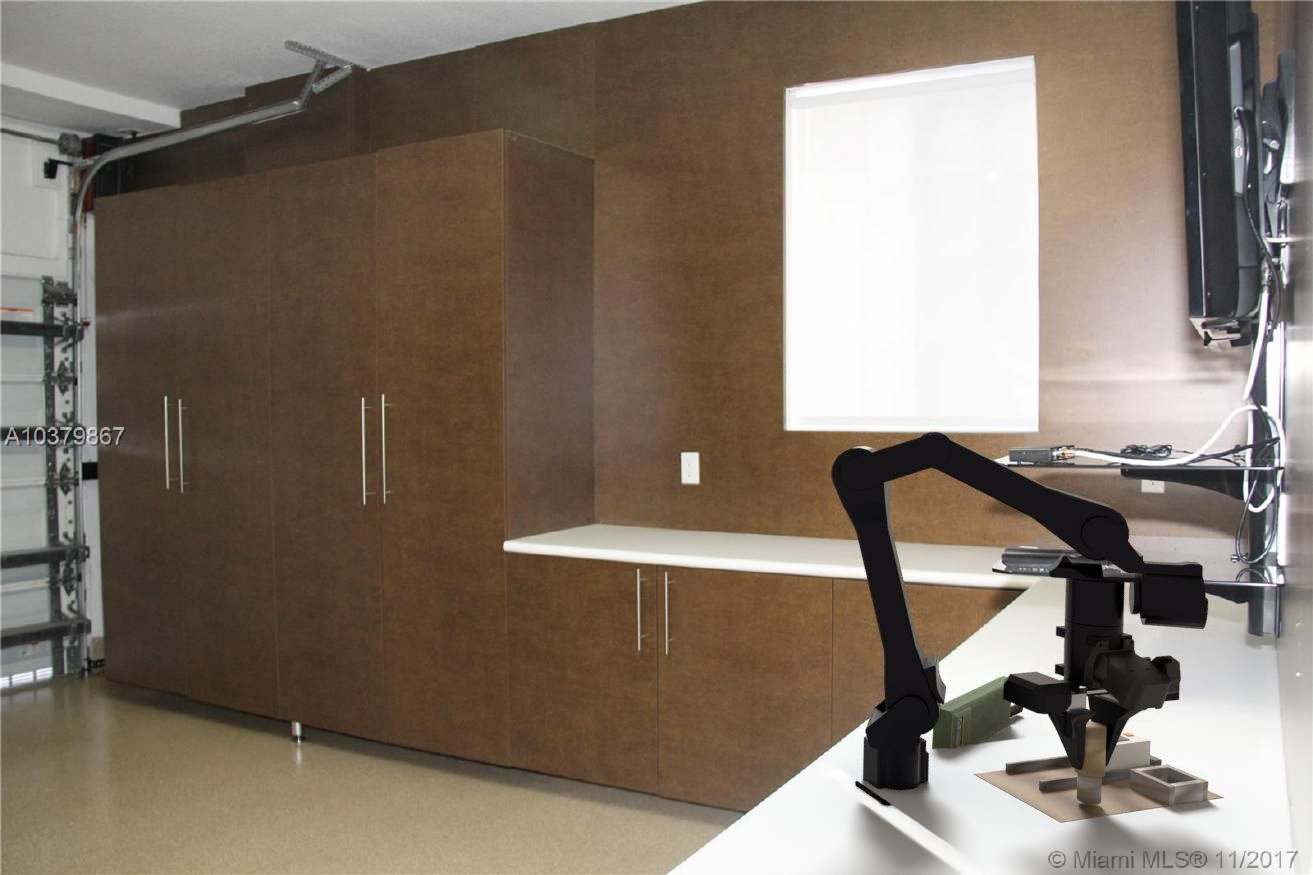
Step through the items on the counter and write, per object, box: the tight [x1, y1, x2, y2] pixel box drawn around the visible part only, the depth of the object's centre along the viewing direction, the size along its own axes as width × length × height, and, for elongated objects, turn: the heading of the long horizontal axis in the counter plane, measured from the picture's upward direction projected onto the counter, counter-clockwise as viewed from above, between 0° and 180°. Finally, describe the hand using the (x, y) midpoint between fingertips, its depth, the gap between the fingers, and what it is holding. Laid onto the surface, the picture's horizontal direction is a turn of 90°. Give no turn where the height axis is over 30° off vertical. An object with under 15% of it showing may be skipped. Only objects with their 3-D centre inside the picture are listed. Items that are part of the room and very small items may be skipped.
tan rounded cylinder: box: [1074, 720, 1107, 804], centre depth 106 cm, size 3×3×8 cm
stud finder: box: [1105, 729, 1151, 771], centre depth 117 cm, size 6×5×4 cm
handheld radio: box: [931, 675, 1024, 750], centre depth 133 cm, size 7×3×25 cm
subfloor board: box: [973, 754, 1224, 823], centre depth 111 cm, size 22×14×4 cm, turn 109°
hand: (1089, 767), depth 106 cm, fingers closed on tan rounded cylinder, 3 cm apart
